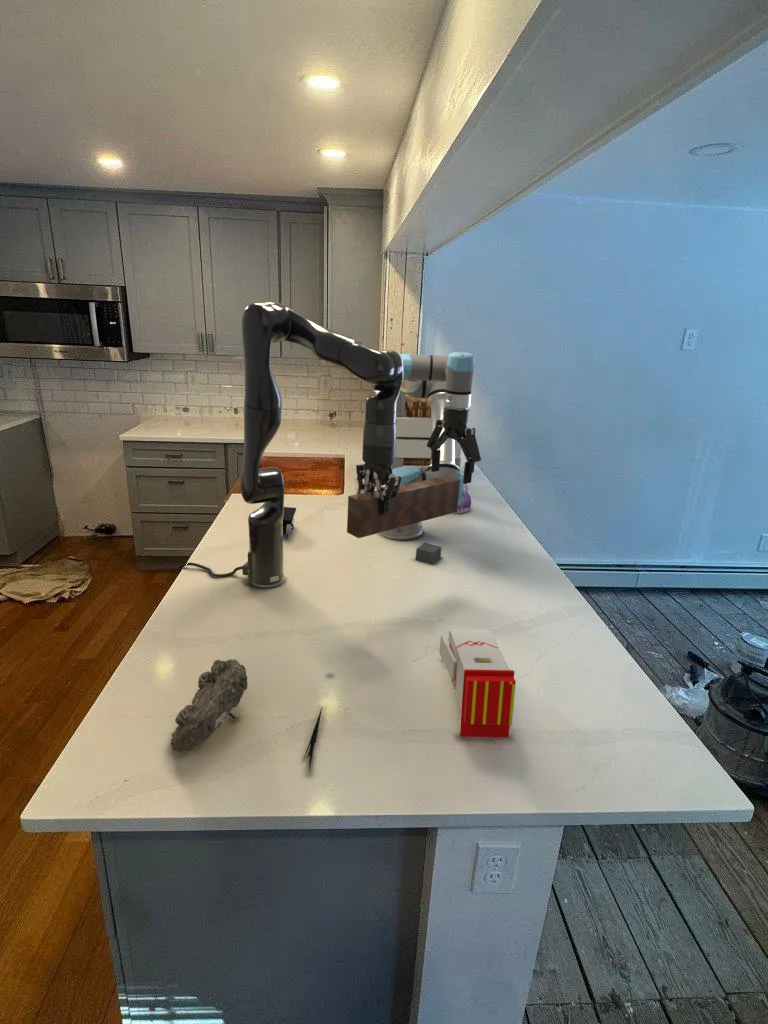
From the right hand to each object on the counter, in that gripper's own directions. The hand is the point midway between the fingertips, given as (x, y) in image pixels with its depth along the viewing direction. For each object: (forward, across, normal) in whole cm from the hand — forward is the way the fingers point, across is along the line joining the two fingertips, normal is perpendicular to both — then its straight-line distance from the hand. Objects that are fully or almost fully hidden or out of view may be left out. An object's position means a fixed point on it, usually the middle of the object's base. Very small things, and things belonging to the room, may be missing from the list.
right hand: (450, 476), depth 173 cm
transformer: (+30, -77, +60) cm, 102 cm away
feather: (+25, +41, -74) cm, 88 cm away
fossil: (+25, +28, -90) cm, 97 cm away
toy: (+25, +52, -44) cm, 73 cm away
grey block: (+27, -2, -5) cm, 28 cm away
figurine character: (+28, -45, -32) cm, 62 cm away
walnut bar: (+2, +16, -33) cm, 36 cm away
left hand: (-3, +17, -42) cm, 46 cm away
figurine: (+28, -28, +38) cm, 55 cm away
